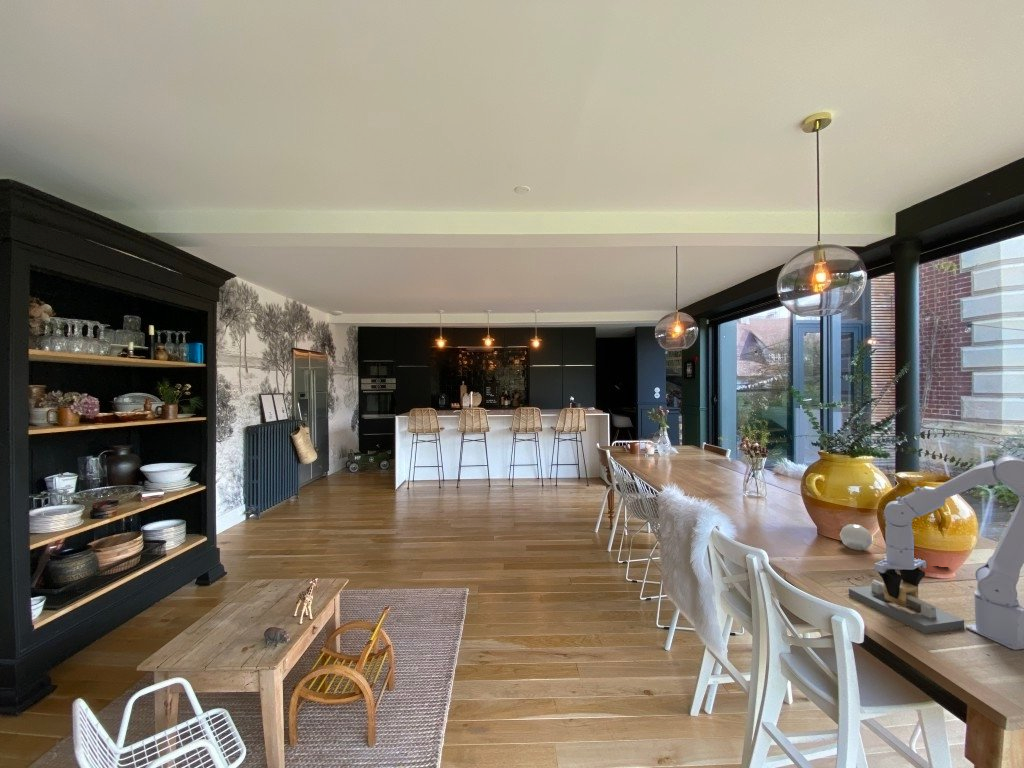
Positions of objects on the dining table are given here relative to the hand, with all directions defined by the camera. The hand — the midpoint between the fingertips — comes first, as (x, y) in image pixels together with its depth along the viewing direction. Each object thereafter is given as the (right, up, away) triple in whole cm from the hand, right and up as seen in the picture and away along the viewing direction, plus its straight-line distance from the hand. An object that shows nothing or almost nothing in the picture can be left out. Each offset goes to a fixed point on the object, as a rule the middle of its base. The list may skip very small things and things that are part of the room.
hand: (901, 595), depth 116 cm
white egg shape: (+23, -4, +45) cm, 51 cm away
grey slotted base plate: (0, -4, 0) cm, 4 cm away
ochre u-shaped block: (0, -2, 0) cm, 2 cm away
